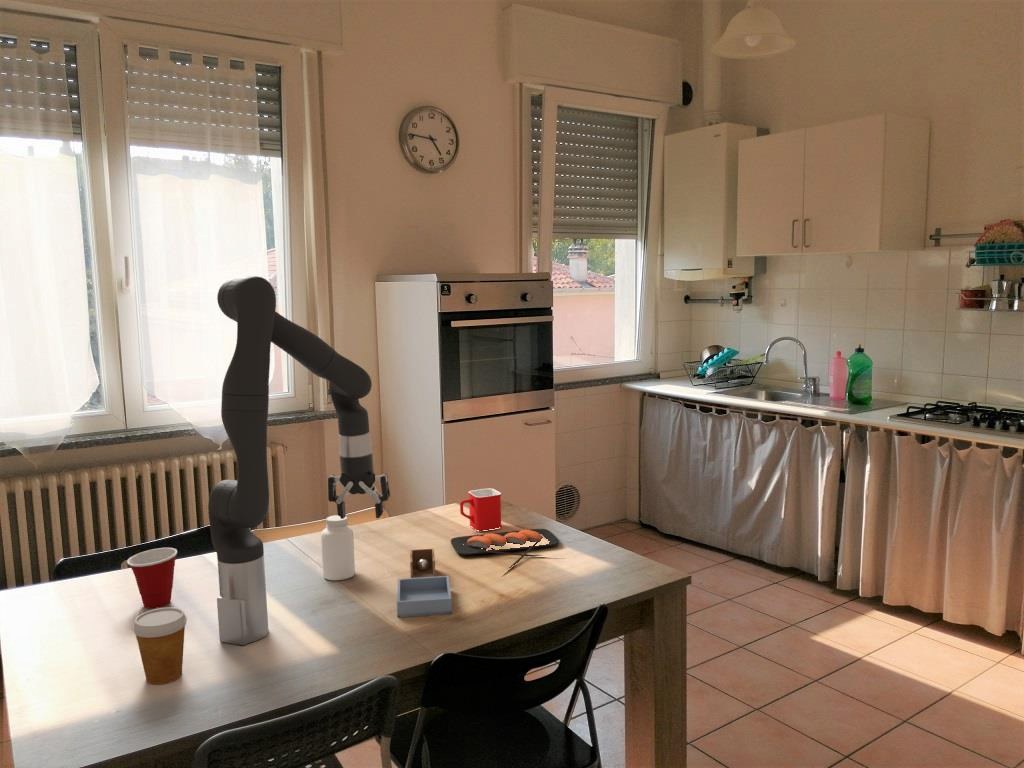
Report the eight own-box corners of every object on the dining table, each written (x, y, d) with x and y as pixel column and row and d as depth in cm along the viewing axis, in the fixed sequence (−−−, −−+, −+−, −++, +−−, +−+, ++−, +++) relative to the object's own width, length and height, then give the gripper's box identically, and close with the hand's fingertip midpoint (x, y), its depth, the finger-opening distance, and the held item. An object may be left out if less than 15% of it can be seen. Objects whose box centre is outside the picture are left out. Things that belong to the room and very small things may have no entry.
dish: (398, 593, 195) (397, 579, 194) (448, 589, 196) (448, 575, 196) (397, 617, 181) (396, 602, 180) (452, 613, 182) (451, 598, 182)
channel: (410, 570, 209) (410, 549, 208) (434, 569, 210) (433, 548, 209) (411, 583, 200) (410, 562, 200) (435, 582, 201) (434, 560, 200)
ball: (425, 572, 205) (425, 560, 205) (414, 571, 206) (415, 559, 206) (430, 569, 208) (431, 558, 208) (420, 568, 209) (420, 556, 209)
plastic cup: (133, 598, 194) (129, 549, 193) (182, 592, 197) (179, 544, 196) (127, 616, 184) (123, 565, 182) (179, 609, 187) (175, 559, 186)
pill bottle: (359, 570, 210) (356, 513, 208) (349, 581, 202) (347, 523, 200) (329, 569, 211) (326, 513, 209) (318, 581, 203) (315, 522, 201)
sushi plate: (547, 534, 238) (546, 521, 238) (582, 569, 209) (582, 555, 209) (448, 544, 231) (448, 531, 230) (470, 582, 202) (470, 567, 201)
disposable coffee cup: (198, 663, 161) (193, 605, 159) (180, 688, 151) (175, 626, 150) (149, 665, 160) (144, 607, 159) (128, 690, 151) (122, 628, 149)
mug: (492, 521, 249) (491, 487, 247) (504, 529, 242) (503, 494, 240) (455, 527, 244) (454, 493, 242) (466, 535, 236) (465, 499, 235)
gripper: (321, 456, 189) (327, 523, 192) (382, 455, 188) (387, 522, 191) (330, 447, 196) (336, 512, 199) (389, 446, 195) (393, 511, 198)
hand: (360, 517), depth 195 cm, fingers open, 8 cm apart
